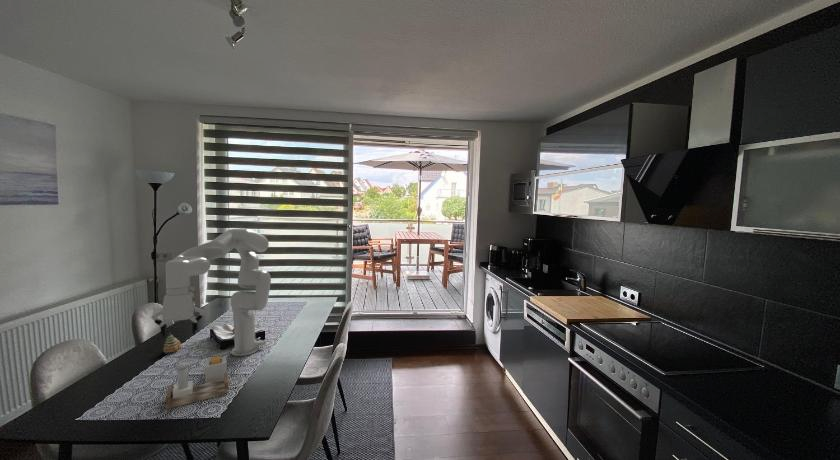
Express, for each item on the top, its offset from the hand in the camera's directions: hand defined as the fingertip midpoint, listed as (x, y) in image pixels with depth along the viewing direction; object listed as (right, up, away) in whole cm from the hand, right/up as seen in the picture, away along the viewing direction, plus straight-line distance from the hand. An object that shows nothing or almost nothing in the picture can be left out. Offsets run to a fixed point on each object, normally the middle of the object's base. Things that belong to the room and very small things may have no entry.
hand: (179, 333), depth 130 cm
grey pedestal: (+3, -22, -2) cm, 22 cm away
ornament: (-33, -22, +40) cm, 56 cm away
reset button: (+7, -17, +12) cm, 22 cm away
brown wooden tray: (+7, -25, +1) cm, 26 cm away
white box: (+7, -24, +13) cm, 28 cm away
